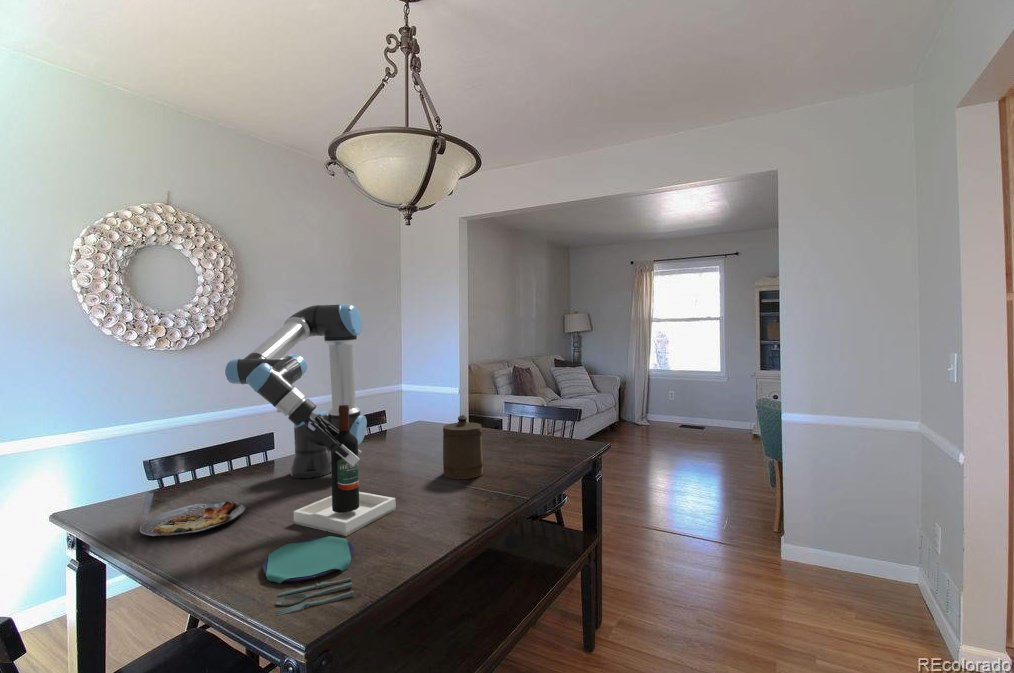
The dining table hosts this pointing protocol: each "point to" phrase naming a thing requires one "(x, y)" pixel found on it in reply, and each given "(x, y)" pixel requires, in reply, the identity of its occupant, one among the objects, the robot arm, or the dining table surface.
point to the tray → (344, 514)
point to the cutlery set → (309, 568)
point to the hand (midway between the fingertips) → (357, 458)
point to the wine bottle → (345, 469)
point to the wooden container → (462, 449)
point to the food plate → (193, 518)
